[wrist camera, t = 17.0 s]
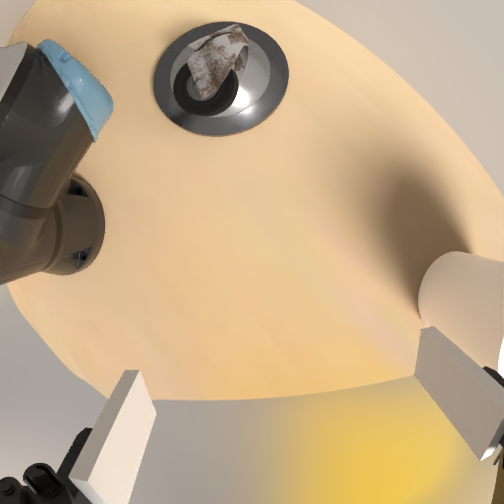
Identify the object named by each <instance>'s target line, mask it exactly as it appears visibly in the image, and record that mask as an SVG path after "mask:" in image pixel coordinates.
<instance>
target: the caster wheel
mask: <svg viewBox="0 0 504 504" xmlns="http://www.w3.org/2000/svg"><path fill="white" fill-rule="evenodd" d="M247 40H248V39H247V37H246V36H245V34H244V33H243V31H242V30H241V28H240V26H239V25H238V24H234V25H232V26H229V27H227V28H224V29H222V30H220V31H217V32H215V33H213V34H210V35H208V36H206V37H204V38H201V39H199V40H197V41H195V42H193V43H191V44H189V45H188V46H189V47H190V48H191V49H193V50H194V51H195V53H193V54H191V55H190V56H189V57H188V58H187V59H186V61H187V63H185V64H184V65H183V66H182V67H181V68H180V70H179V71H178V73H177V75H176V77H175V80H174V84H173V93H174V97H175V100H176V101H177V103H178V105H179V106H180V107H181V108H182V109H183V110H185V111H186V112H188V113H191V114H194V115H198V116H205V117H207V116H214V115H218V114H220V113H222V112H224V111H225V110H226V109H228V108H229V107H230V106H231V105H232V103H233V102H234V100H235V99H236V97H237V94H238V89H239V82H240V81H241V80H242V78H243V76H244V74H245V71H246V68H247V64H248V57H249V45H248V43H247Z"/></svg>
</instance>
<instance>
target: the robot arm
mask: <svg viewBox="0 0 504 504" xmlns="http://www.w3.org/2000/svg"><path fill="white" fill-rule="evenodd" d="M112 111H113V100H112V98H111V96H110V94H109V93H108V91H107V90H106V89H105V88H104V86H103V85H102V84H101V83H100V82H99V81H98V80H97V79H96V78H95V77H94V76H93V75H92V74H91V73H90V72H89V71H88V70H87V69H86V68H85V67H84V66H83V65H82V64H81V63H80V62H79V61H77V60H76V59H75V58H74V57H71V55H70V54H69V53H68V52H66V51H65V50H64V49H63V48H62V47H61V46H60V45H58V44H57V43H56V42H54V41H52V40H50V39H46V40H44V41H43V42H42V43H39V44H38V46H37V49H35V48H34V47H32V46H31V45H29V44H28V43H26V42H24V41H23V42H19V43H16V44H13V45H11V46H8V47H2V48H1V47H0V285H2V284H5V283H8V282H11V281H14V280H17V279H19V278H22V277H25V276H28V275H31V274H34V273H37V272H40V271H41V272H46V273H50V274H55V275H70V274H74V273H76V272H79V271H82V270H84V269H85V268H87V267H88V266H89V265H90V264H91V263H92V262H93V261H94V260H95V258H96V257H97V255H98V253H99V251H100V249H101V246H102V243H103V239H104V233H105V218H104V211H103V207H102V204H101V201H100V199H99V197H98V195H97V193H96V192H95V190H94V189H93V188H92V187H91V186H90V185H89V184H88V183H87V182H85V181H84V180H82V179H80V178H77V177H72V175H73V173H74V171H75V170H76V168H77V166H78V165H79V163H80V161H81V160H82V158H83V157H84V155H85V154H86V152H87V150H88V149H89V147H90V146H91V144H92V143H93V142H96V140H97V139H98V134H99V132H100V131H101V129H102V128H103V126H104V125H105V123H106V122H107V120H108V119H109V117H110V116H111V114H112ZM414 376H415V377H416V378H417V379H418V380H419V382H420V383H421V384H422V386H423V387H424V388H425V389H426V391H427V392H428V393H429V394H430V396H431V397H432V398H433V400H434V401H435V402H436V403H437V405H438V406H439V407H440V409H441V410H442V411H443V412H444V414H445V415H446V416H447V418H448V419H449V420H450V422H451V423H452V424H453V425H454V427H455V428H456V429H457V431H458V432H459V433H460V435H461V436H462V437H463V439H464V440H465V442H466V443H467V444H468V445H469V447H470V448H471V450H472V451H473V452H474V454H475V455H476V456H477V458H478V459H479V461H481V460H483V459H484V458H486V457H488V456H489V455H491V454H493V453H494V451H495V450H496V448H497V446H498V444H499V443H500V445H501V446H502V447H503V448H502V450H501V451H500V453H499V455H498V456H497V458H496V459H495V461H494V464H493V465H495V464H496V463H497V462H498V460H499V466H498V472H497V478H496V485H495V490H494V494H493V499H492V503H491V504H504V378H503V377H502V376H501V375H500V374H499V373H498V372H497V371H496V370H494V369H491V368H489V367H487V366H485V367H483V368H481V367H480V366H479V365H478V364H477V363H476V362H475V361H474V360H473V359H471V358H470V357H469V356H468V355H467V354H466V353H465V352H463V351H462V350H461V349H460V348H459V347H458V346H457V345H455V344H454V343H453V342H452V341H451V340H450V339H449V338H447V337H446V336H445V335H444V334H443V333H442V332H440V331H439V330H438V329H437V328H436V327H434V326H431V327H428V328H424V329H421V334H420V342H419V349H418V355H417V362H416V368H415V373H414ZM156 414H157V413H156V411H155V408H154V406H153V404H152V401H151V398H150V396H149V393H148V391H147V388H146V386H145V383H144V380H143V377H142V375H141V372H140V370H125V371H124V373H123V375H122V377H121V378H120V380H119V382H118V384H117V385H116V387H115V389H114V391H113V393H112V394H111V396H110V398H109V400H108V402H107V404H106V406H105V407H104V409H103V411H102V413H101V414H100V416H99V418H98V420H97V422H96V424H95V426H94V428H85V429H84V430H82V431H81V432H80V433H79V434H78V435H77V437H76V438H75V440H74V442H73V445H72V446H71V447H70V449H69V453H67V455H66V457H65V458H64V460H63V462H62V464H61V466H60V468H59V469H58V471H57V473H55V471H54V470H53V469H52V468H51V467H50V466H49V465H47V464H45V463H35V464H33V465H31V466H30V467H28V468H27V469H26V470H25V472H24V475H23V481H24V482H25V483H26V484H27V485H28V486H22V485H21V484H20V482H19V481H18V480H17V479H15V478H13V477H5V478H3V479H1V480H0V504H128V502H129V499H130V496H131V492H132V489H133V486H134V482H135V479H136V476H137V473H138V469H139V466H140V463H141V460H142V457H143V454H144V450H145V447H146V444H147V441H148V438H149V435H150V432H151V429H152V426H153V423H154V420H155V417H156Z"/></svg>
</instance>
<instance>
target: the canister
mask: <svg viewBox="0 0 504 504" xmlns="http://www.w3.org/2000/svg"><path fill="white" fill-rule="evenodd" d="M418 309H419V314H420V317H421V319H422V321H423V323H424V324H425V325H426V326H427V327H431V326H434V327H436V328H437V329H438V330H439V331H440V332H442V333H443V334H444V335H445V336H446V337H447V338H449V339H450V340H451V341H452V342H453V343H454V344H455V345H457V346H458V347H459V348H460V349H461V350H462V351H463V352H465V353H466V354H467V355H468V356H469V357H470V358H471V359H473V360H474V361H475V362H476V363H477V364H478V365H479V366H480V367H481V368H483V367H485V366H487V367H489V368H491V369H494V370H496V371H497V372H498V373H499V374H500V375H501V376H502V377H503V378H504V262H500V261H497V260H493V259H489V258H485V257H481V256H477V255H472V254H468V253H464V252H460V251H452V252H448V253H445V254H443V255H442V256H440V257H439V258H437V259H436V260H435V261H434V262H433V263H432V264H431V266H430V267H429V268H428V270H427V272H426V273H425V275H424V277H423V280H422V282H421V285H420V289H419V294H418Z"/></svg>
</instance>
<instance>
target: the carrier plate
mask: <svg viewBox="0 0 504 504" xmlns="http://www.w3.org/2000/svg"><path fill="white" fill-rule="evenodd" d="M234 24H238V25H239V26H240V28H241V30H242V31H243V33H244V34H245V36H246V37H247V39H248V40H247V43H248V45H249V57H248V64H247V68H246V71H245V74H244V76H243V78H242V80H241V81H240V82H239V89H238V94H237V97H236V99H235V100H234V102H233V103H232V105H231V106H230V107H229V108H228V109H226V110H225V111H224V112H222V113H220V114H218V115H214V116H207V117H205V116H198V115H194V114H191V113H188V112H186V111H185V110H183V109H182V108H181V107H180V106H179V105H178V103H177V101H176V100H175V97H174V93H173V84H174V80H175V77H176V75H177V73H178V71H179V70H180V68H181V67H182V66H183V65H184V64H185V63H187V61H186V59H187V58H188V57H189V56H190V55H191V54H193V53H195V51H194V50H193V49H191V48H190V47H189V46H188V45H189V44H191V43H193V42H195V41H197V40H199V39H201V38H204V37H206V36H208V35H210V34H213V33H215V32H217V31H220V30H222V29H224V28H227V27H229V26H232V25H234ZM288 78H289V70H288V64H287V60H286V57H285V54H284V53H283V51H282V49H281V48H280V46H279V45H278V44H277V42H276V41H275V40H274V39H273V38H272V37H270V36H269V35H268V34H266V33H265V32H263V31H261V30H260V29H258V28H255V27H253V26H250V25H247V24H243V23H237V22H217V23H211V24H207V25H203V26H200V27H197V28H195V29H193V30H191V31H189V32H187V33H185V34H184V35H182V36H181V37H179V38H178V39H177V40H176V41H175V42H173V43H172V44H171V45H170V47H169V48H168V49H167V50H166V51H165V53H164V54H163V56H162V57H161V59H160V61H159V63H158V66H157V68H156V72H155V77H154V91H155V96H156V99H157V102H158V104H159V106H160V108H161V109H162V111H163V112H164V113H165V115H166V116H167V117H168V118H169V119H170V120H171V121H172V122H173V123H175V124H176V125H178V126H179V127H180V128H182V129H184V130H186V131H188V132H191V133H194V134H198V135H202V136H211V137H222V136H229V135H234V134H238V133H242V132H244V131H247V130H249V129H251V128H253V127H255V126H257V125H259V124H260V123H262V122H263V121H264V120H266V119H267V118H268V117H269V116H270V115H271V114H272V113H273V112H274V111H275V110H276V109H277V107H278V106H279V104H280V103H281V101H282V99H283V97H284V95H285V92H286V89H287V85H288Z"/></svg>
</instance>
